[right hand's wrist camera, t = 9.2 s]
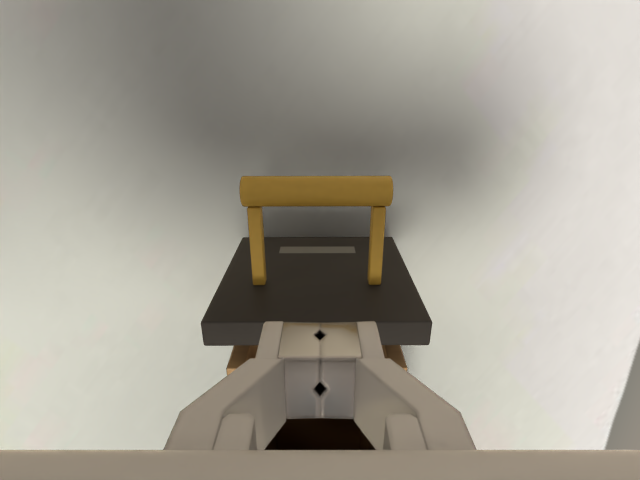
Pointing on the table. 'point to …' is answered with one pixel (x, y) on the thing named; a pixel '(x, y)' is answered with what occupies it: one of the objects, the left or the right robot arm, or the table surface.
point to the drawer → (316, 287)
